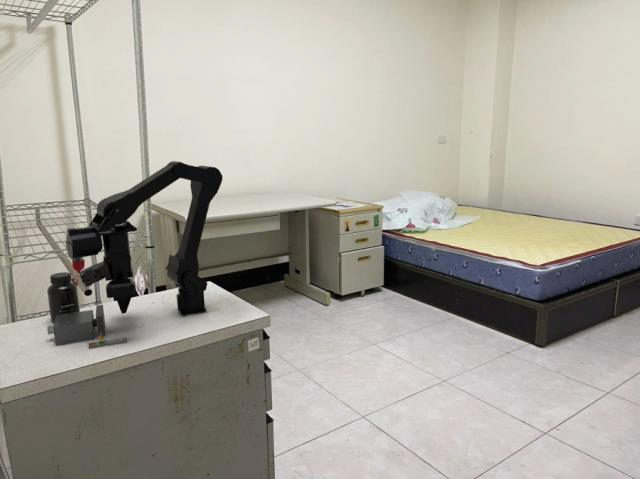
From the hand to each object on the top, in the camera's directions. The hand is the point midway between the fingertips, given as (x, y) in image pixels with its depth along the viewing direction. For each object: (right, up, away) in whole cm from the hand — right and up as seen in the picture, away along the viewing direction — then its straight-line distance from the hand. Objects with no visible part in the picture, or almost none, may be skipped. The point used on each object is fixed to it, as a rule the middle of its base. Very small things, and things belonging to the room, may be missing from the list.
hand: (123, 312), depth 118 cm
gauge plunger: (-9, -5, -5) cm, 11 cm away
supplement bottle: (-18, -3, +7) cm, 20 cm away
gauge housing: (-6, -5, -4) cm, 9 cm away
